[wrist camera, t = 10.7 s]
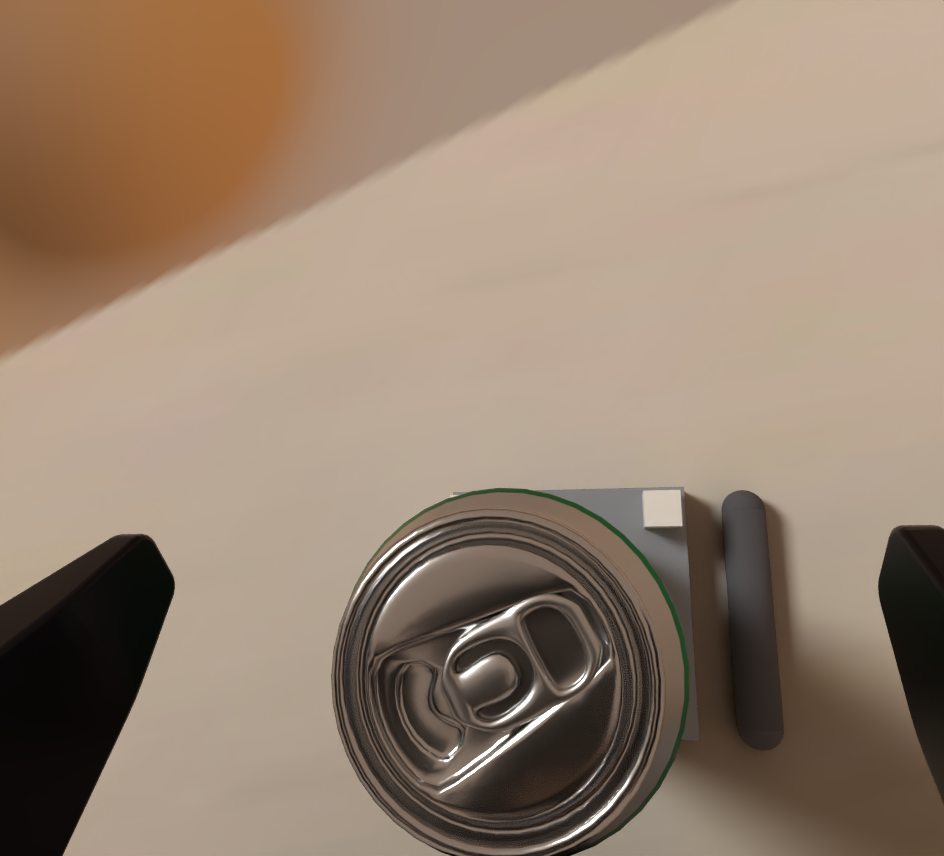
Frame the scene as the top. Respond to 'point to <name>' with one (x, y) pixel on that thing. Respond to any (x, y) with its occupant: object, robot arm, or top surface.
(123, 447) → the top surface
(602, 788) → the soda can
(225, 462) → the top surface
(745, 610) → the dark grey rod
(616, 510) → the switch plate
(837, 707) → the top surface
